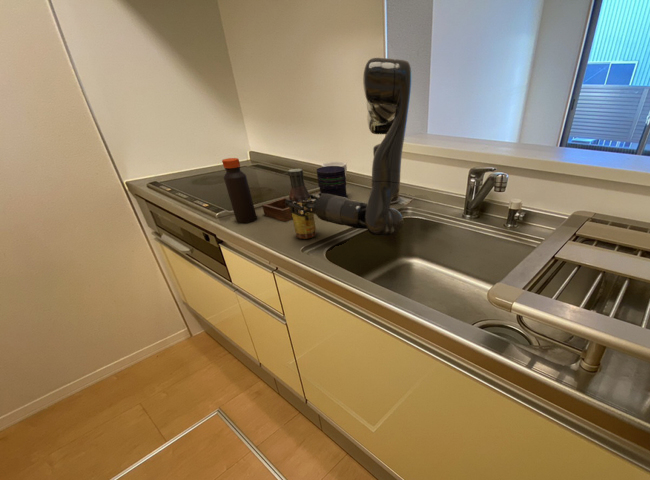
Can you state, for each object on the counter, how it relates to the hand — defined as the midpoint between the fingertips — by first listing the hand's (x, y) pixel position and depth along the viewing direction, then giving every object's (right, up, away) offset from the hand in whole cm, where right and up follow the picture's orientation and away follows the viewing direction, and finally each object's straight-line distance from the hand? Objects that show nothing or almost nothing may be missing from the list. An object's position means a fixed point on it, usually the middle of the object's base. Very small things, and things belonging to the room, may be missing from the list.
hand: (295, 199), depth 102 cm
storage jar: (+8, +2, +24) cm, 25 cm away
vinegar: (-22, -2, +18) cm, 29 cm away
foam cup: (+6, +12, +37) cm, 40 cm away
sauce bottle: (+2, -10, +5) cm, 11 cm away
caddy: (-10, +1, +22) cm, 24 cm away
